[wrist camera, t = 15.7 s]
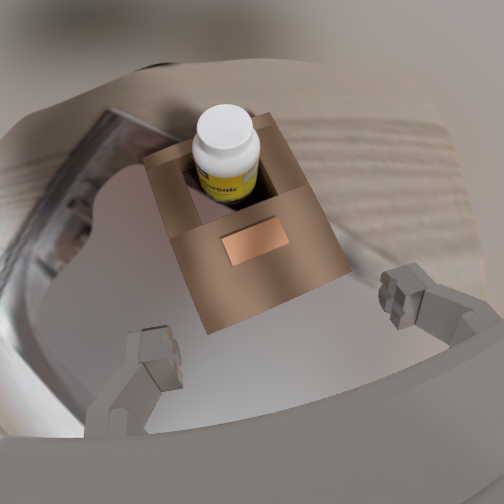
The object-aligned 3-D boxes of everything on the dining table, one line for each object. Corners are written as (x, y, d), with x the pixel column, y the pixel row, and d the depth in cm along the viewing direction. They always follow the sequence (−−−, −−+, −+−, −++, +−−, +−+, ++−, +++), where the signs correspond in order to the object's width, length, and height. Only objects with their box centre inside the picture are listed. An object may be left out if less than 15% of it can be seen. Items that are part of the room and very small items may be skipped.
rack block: (210, 333, 28) (207, 335, 24) (149, 171, 31) (141, 156, 28) (341, 276, 29) (352, 270, 26) (266, 128, 32) (269, 110, 29)
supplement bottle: (189, 189, 30) (171, 134, 21) (221, 148, 32) (215, 86, 22) (236, 217, 30) (235, 169, 20) (266, 173, 31) (277, 115, 22)
